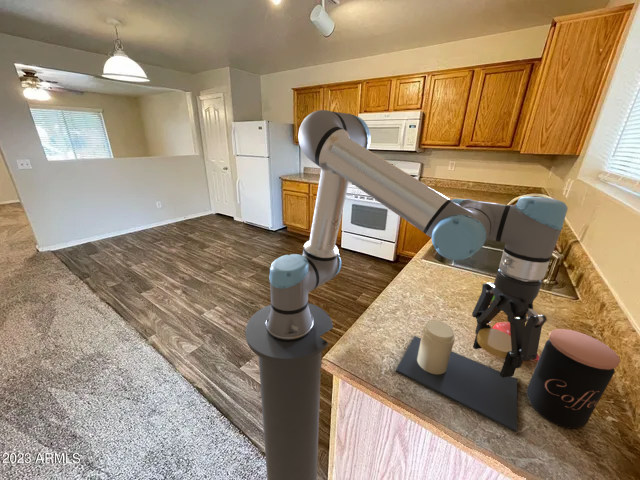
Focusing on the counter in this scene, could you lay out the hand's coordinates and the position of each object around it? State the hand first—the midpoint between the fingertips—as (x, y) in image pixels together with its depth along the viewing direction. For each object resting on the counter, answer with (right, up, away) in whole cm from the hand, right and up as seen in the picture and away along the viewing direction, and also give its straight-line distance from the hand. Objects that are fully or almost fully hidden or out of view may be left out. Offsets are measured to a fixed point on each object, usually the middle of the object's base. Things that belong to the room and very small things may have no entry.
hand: (491, 360), depth 62 cm
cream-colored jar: (-10, -5, +10) cm, 15 cm away
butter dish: (+16, -4, +17) cm, 24 cm away
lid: (0, +5, -2) cm, 6 cm away
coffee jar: (+13, -10, -1) cm, 17 cm away
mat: (-5, -7, +6) cm, 11 cm away
